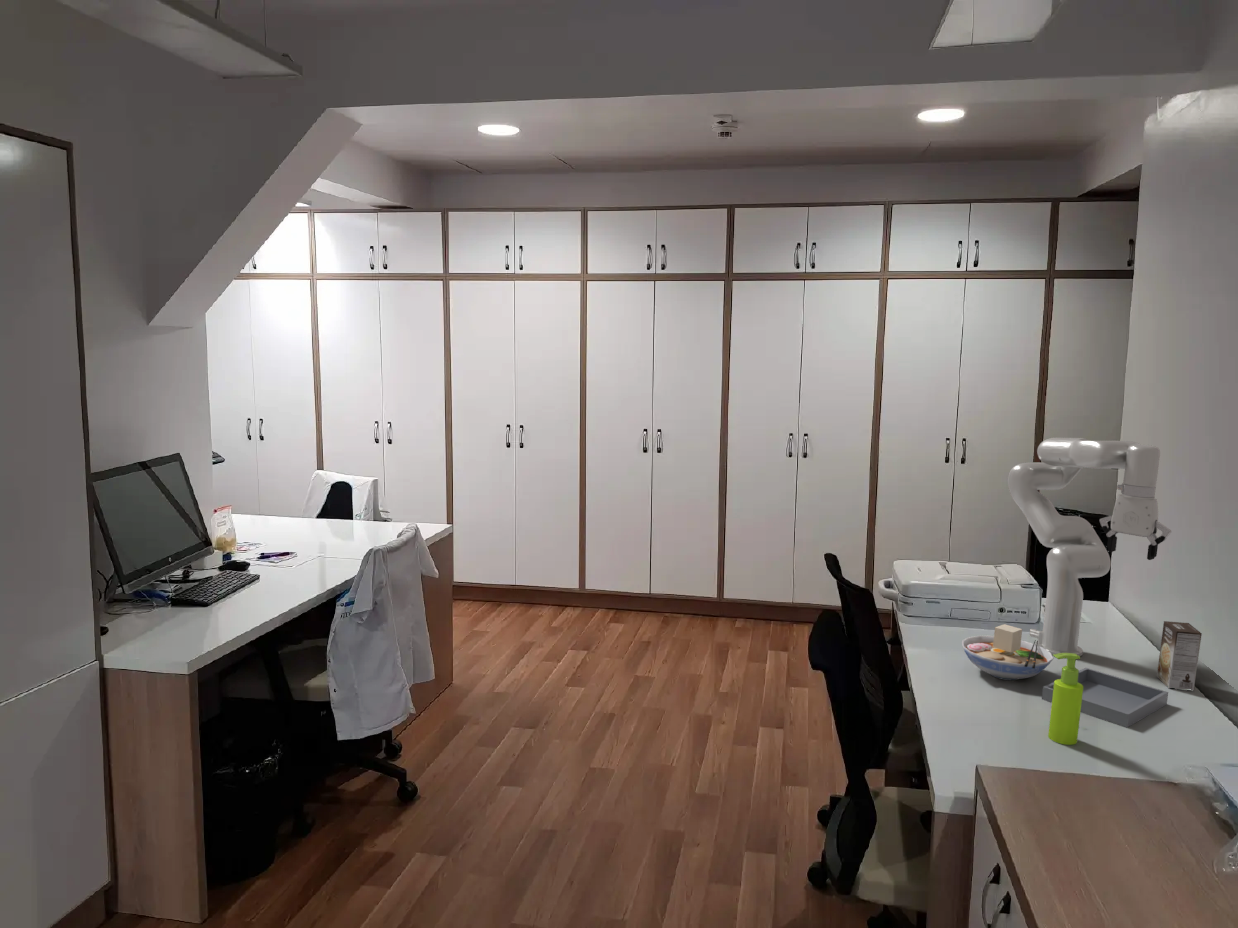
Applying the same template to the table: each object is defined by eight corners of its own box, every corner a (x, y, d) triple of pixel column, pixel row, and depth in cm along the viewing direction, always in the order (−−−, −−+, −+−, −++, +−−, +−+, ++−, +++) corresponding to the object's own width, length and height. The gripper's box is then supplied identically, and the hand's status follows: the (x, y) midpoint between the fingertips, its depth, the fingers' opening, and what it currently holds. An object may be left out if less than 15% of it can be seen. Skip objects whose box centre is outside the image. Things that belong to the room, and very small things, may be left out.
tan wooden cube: (992, 646, 241) (994, 627, 240) (1002, 643, 244) (1004, 624, 243) (1010, 652, 237) (1013, 632, 236) (1020, 648, 240) (1022, 629, 240)
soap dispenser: (1038, 733, 205) (1047, 649, 203) (1067, 733, 206) (1076, 649, 203) (1053, 744, 199) (1062, 658, 197) (1082, 744, 200) (1092, 659, 197)
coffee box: (1155, 676, 245) (1162, 620, 243) (1181, 679, 244) (1188, 622, 242) (1168, 689, 236) (1176, 630, 234) (1195, 691, 235) (1203, 632, 233)
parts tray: (1041, 701, 224) (1042, 686, 223) (1084, 681, 239) (1085, 667, 239) (1126, 730, 209) (1128, 714, 208) (1166, 707, 224) (1168, 691, 223)
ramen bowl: (966, 653, 258) (969, 626, 257) (1054, 670, 247) (1057, 642, 246) (951, 680, 237) (954, 650, 235) (1046, 700, 225) (1049, 669, 224)
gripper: (1098, 487, 239) (1090, 550, 242) (1169, 498, 226) (1160, 564, 229) (1110, 485, 244) (1102, 547, 247) (1180, 495, 231) (1172, 560, 233)
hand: (1130, 555), depth 238 cm, fingers open, 9 cm apart
